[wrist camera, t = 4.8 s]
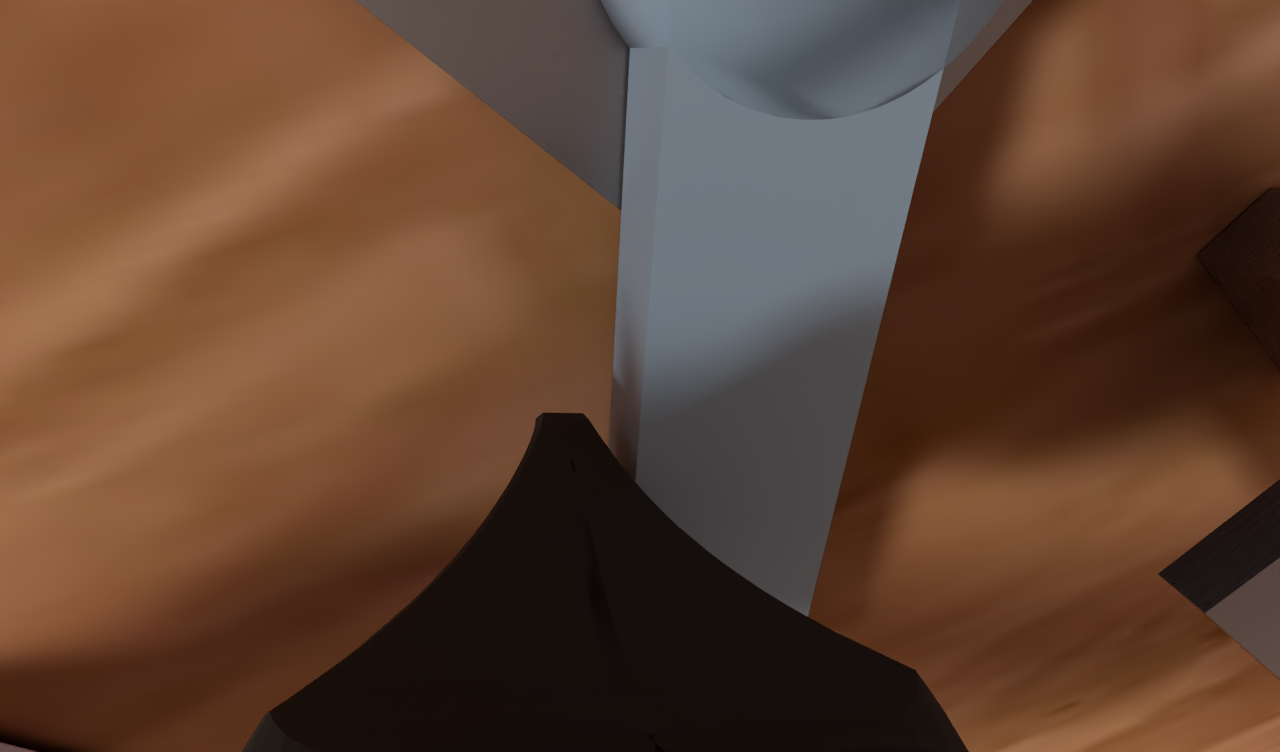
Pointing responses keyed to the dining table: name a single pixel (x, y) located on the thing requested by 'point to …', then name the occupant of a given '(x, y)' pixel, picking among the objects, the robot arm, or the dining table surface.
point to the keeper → (1276, 520)
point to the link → (763, 253)
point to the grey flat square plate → (568, 69)
